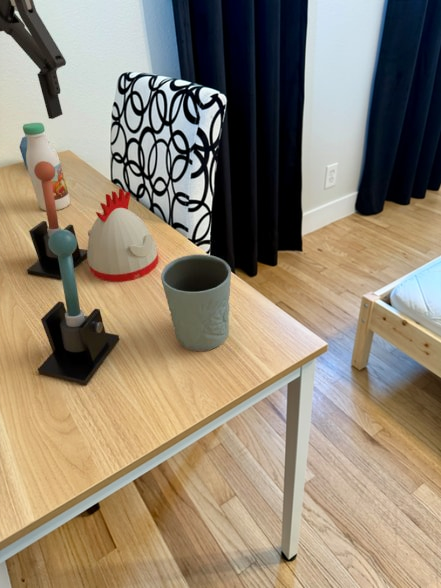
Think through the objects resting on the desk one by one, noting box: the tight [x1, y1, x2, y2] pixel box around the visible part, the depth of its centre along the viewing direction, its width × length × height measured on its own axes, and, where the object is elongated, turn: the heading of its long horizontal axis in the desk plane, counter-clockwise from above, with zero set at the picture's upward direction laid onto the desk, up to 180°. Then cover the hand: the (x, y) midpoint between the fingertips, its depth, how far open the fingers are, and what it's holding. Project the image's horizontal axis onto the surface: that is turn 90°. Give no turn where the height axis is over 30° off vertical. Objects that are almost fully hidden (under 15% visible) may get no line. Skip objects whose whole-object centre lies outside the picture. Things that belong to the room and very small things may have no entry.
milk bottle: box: [22, 122, 71, 211], centre depth 105 cm, size 8×8×20 cm
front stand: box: [37, 300, 120, 386], centre depth 64 cm, size 10×8×8 cm
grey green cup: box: [160, 253, 232, 352], centre depth 66 cm, size 10×10×12 cm
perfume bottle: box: [19, 123, 51, 168], centre depth 131 cm, size 6×6×12 cm
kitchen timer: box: [86, 188, 159, 283], centre depth 83 cm, size 14×14×15 cm
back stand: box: [26, 220, 87, 281], centre depth 85 cm, size 10×8×8 cm
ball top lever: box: [48, 228, 88, 352], centre depth 61 cm, size 18×4×4 cm
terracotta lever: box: [34, 161, 62, 258], centre depth 82 cm, size 18×4×4 cm
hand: (21, 114), depth 72 cm, fingers open, 13 cm apart
